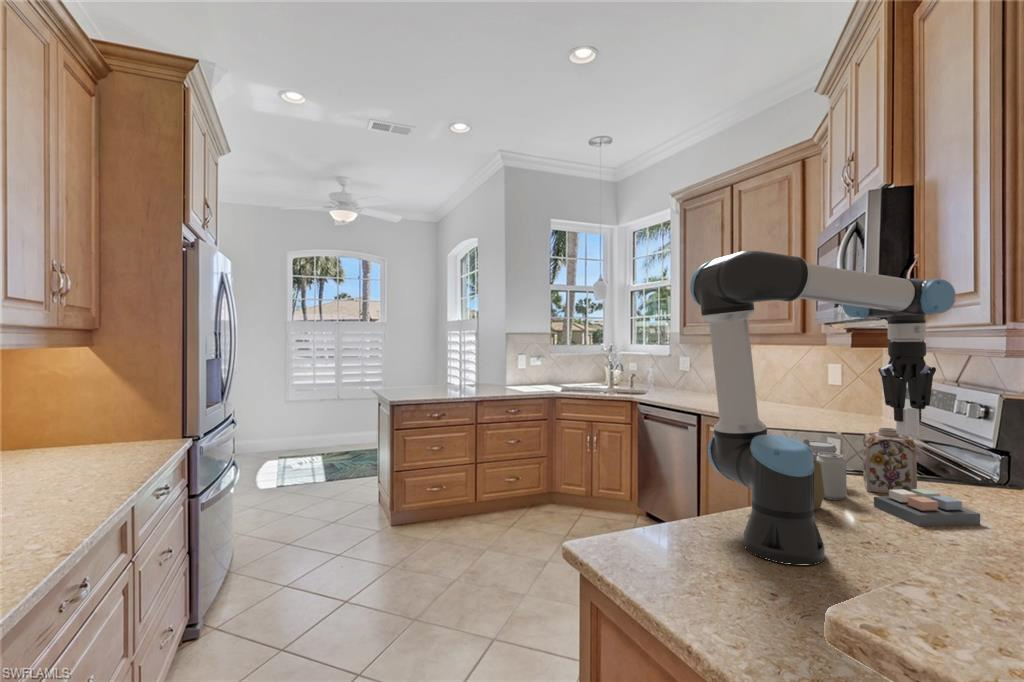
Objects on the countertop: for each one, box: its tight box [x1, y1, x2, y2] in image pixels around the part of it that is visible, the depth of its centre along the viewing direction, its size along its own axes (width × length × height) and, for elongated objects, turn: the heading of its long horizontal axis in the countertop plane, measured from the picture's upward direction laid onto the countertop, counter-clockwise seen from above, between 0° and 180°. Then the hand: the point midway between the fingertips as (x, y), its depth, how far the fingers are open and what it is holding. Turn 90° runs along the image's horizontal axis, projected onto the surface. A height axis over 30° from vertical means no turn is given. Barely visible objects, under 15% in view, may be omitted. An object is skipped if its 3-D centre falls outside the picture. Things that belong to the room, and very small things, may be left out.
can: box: [816, 452, 848, 501], centre depth 140 cm, size 8×8×12 cm
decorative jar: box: [862, 427, 918, 495], centre depth 146 cm, size 12×12×18 cm
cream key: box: [888, 489, 917, 504], centre depth 127 cm, size 4×4×3 cm
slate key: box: [931, 495, 963, 512], centre depth 122 cm, size 4×4×3 cm
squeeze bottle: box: [802, 438, 825, 511], centre depth 132 cm, size 8×8×18 cm
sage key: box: [911, 488, 941, 499], centre depth 128 cm, size 4×4×3 cm
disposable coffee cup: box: [809, 440, 838, 456], centre depth 154 cm, size 10×10×12 cm
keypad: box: [873, 495, 981, 527], centre depth 124 cm, size 15×14×3 cm
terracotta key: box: [908, 497, 938, 513], centre depth 121 cm, size 4×4×3 cm
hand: (907, 434), depth 124 cm, fingers open, 2 cm apart
